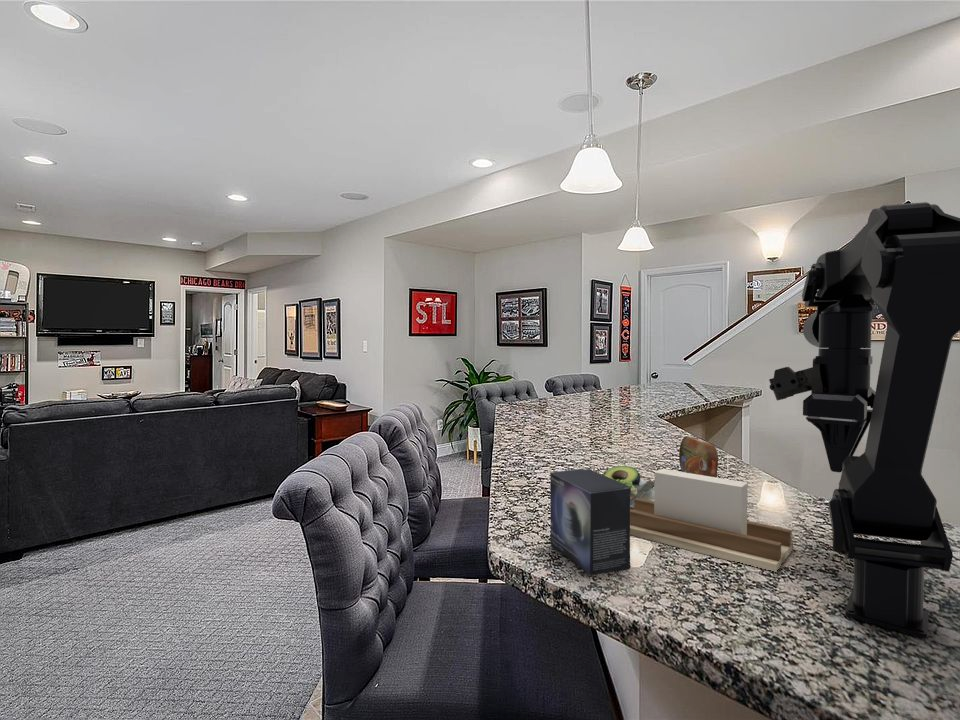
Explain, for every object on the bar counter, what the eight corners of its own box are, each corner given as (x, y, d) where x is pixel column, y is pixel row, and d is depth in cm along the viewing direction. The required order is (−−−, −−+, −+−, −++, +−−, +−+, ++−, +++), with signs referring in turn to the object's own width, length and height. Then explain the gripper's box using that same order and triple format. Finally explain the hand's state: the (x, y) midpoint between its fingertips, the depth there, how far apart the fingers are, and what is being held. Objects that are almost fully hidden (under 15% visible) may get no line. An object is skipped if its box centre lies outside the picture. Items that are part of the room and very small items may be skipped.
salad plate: (680, 518, 85) (681, 490, 85) (570, 516, 87) (570, 488, 87) (650, 486, 105) (650, 463, 105) (560, 484, 106) (560, 462, 106)
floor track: (776, 572, 64) (776, 548, 64) (612, 530, 79) (612, 510, 79) (793, 549, 72) (793, 527, 72) (640, 514, 86) (641, 496, 86)
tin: (677, 470, 117) (678, 433, 117) (691, 470, 117) (692, 433, 117) (704, 489, 102) (705, 446, 102) (720, 489, 102) (721, 446, 102)
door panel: (740, 546, 70) (741, 487, 70) (653, 525, 78) (654, 472, 78) (746, 539, 73) (747, 482, 72) (661, 520, 80) (662, 468, 80)
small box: (546, 545, 73) (547, 470, 73) (586, 539, 75) (587, 467, 75) (587, 576, 63) (588, 490, 63) (632, 568, 66) (633, 485, 65)
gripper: (789, 348, 82) (787, 447, 82) (758, 348, 68) (756, 468, 68) (879, 348, 74) (876, 457, 75) (865, 349, 60) (861, 483, 61)
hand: (841, 465), depth 70 cm, fingers open, 9 cm apart
